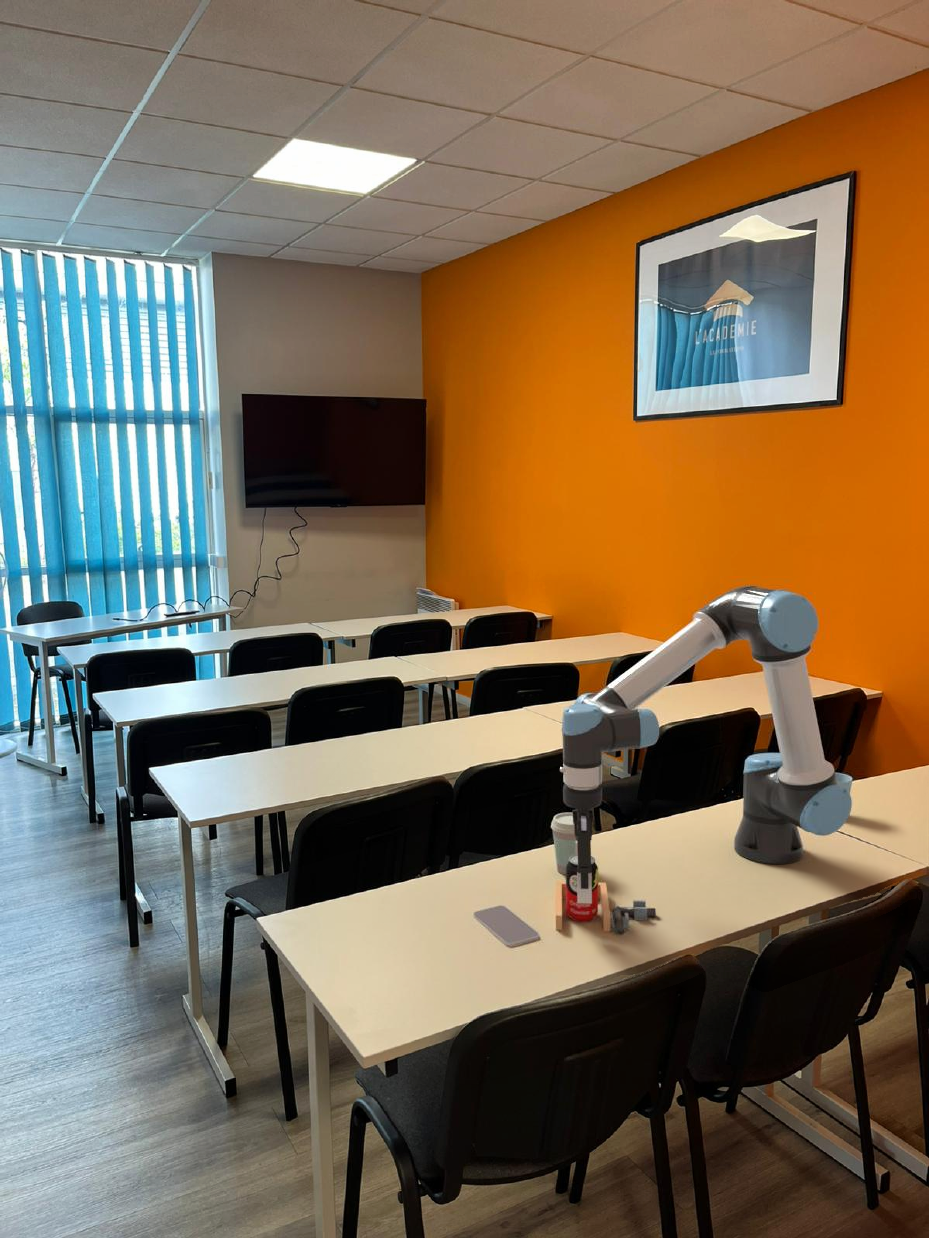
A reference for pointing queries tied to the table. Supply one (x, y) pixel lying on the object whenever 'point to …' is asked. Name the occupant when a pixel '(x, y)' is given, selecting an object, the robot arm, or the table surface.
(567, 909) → the beverage can
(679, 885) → the table surface
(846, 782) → the cup
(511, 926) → the smartphone
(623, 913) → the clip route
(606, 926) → the end holder
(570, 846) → the coffee cup
